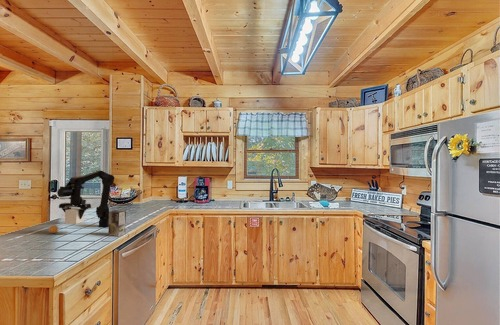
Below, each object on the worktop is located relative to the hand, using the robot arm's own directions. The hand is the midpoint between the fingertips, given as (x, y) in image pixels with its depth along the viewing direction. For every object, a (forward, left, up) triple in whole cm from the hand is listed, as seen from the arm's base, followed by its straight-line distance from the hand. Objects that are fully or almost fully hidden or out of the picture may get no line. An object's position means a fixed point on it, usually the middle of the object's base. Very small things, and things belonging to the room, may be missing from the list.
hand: (74, 218), depth 178 cm
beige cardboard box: (0, 0, -2) cm, 3 cm away
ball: (+14, 0, -8) cm, 16 cm away
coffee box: (-28, -2, -11) cm, 30 cm away
